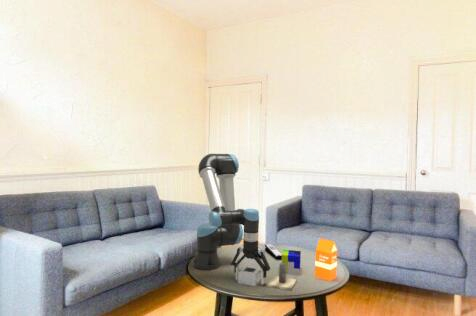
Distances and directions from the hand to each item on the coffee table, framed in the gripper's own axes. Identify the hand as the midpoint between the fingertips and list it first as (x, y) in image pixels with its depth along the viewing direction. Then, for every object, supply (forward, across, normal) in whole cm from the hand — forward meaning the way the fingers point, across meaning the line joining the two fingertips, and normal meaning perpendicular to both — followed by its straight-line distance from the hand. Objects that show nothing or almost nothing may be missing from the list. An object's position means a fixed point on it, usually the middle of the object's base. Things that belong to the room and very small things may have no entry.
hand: (249, 281), depth 170 cm
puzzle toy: (0, +16, +24) cm, 29 cm away
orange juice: (0, +35, +23) cm, 42 cm away
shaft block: (0, +16, +4) cm, 16 cm away
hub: (0, 0, 0) cm, 0 cm away
